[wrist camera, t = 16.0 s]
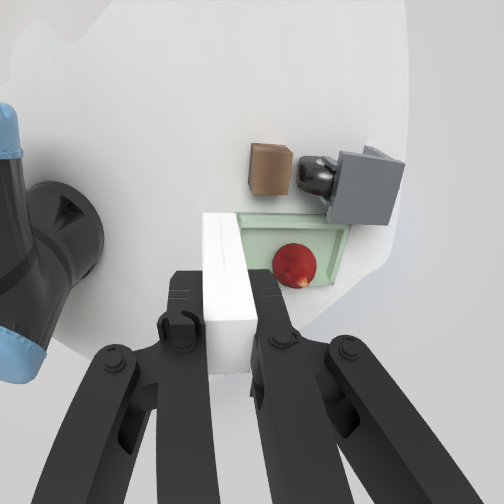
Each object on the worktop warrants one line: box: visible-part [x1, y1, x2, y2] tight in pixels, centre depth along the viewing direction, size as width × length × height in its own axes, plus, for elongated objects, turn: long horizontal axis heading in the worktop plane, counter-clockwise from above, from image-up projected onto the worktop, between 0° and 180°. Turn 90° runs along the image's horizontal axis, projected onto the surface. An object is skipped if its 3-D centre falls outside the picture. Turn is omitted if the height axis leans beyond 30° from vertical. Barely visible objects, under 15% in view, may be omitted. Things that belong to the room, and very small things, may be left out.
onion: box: [272, 243, 317, 289], centre depth 39 cm, size 6×6×8 cm
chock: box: [248, 143, 293, 195], centre depth 34 cm, size 4×5×4 cm
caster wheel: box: [296, 146, 405, 226], centre depth 34 cm, size 11×8×8 cm
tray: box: [236, 213, 351, 287], centre depth 41 cm, size 16×11×2 cm
